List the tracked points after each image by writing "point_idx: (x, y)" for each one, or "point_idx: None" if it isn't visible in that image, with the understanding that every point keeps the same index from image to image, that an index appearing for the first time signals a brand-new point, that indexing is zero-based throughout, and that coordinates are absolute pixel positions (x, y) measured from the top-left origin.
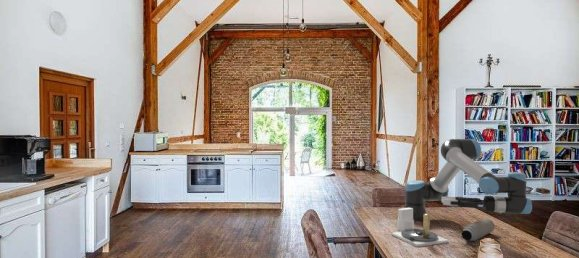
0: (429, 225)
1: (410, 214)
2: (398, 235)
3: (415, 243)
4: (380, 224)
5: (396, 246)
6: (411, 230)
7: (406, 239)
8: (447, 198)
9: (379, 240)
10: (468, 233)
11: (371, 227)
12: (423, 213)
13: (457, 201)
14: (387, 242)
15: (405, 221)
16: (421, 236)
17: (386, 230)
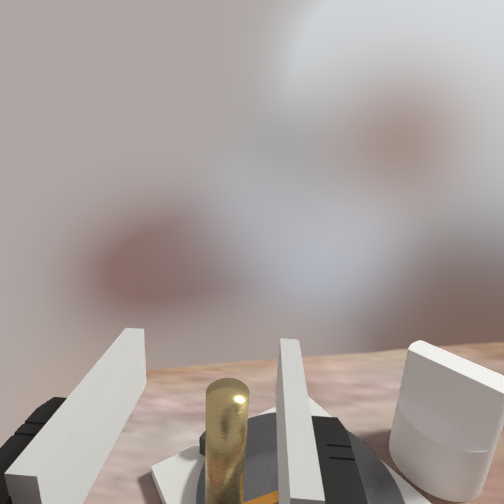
0: (215, 468)
1: (471, 411)
2: (275, 410)
3: (164, 462)
4: None
5: (157, 403)
6: None
7: None
8: (282, 398)
9: (222, 366)
10: None
11: (368, 356)
12: None
13: (10, 488)
14: (203, 383)
15: (400, 411)
16: (249, 493)
17: (360, 390)
